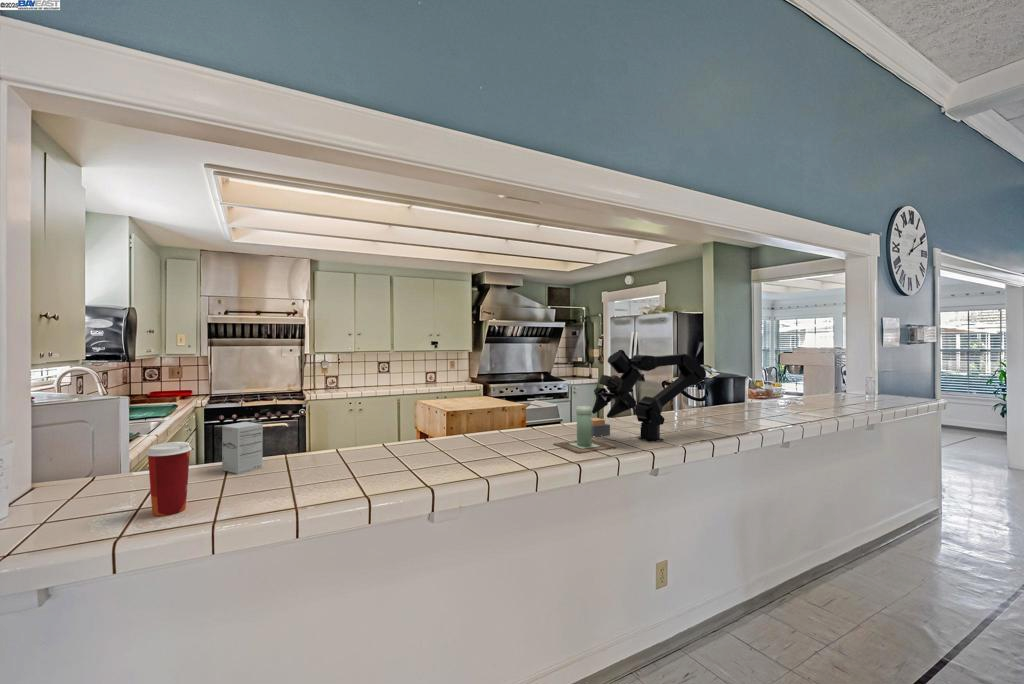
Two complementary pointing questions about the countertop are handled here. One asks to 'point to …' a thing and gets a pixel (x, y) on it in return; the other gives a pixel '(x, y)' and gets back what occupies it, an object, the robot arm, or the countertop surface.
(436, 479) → the countertop surface
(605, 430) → the button box
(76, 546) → the countertop surface
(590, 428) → the green capped bottle
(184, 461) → the paper cup
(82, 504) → the countertop surface
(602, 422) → the button
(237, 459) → the supplement box
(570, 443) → the picture board
